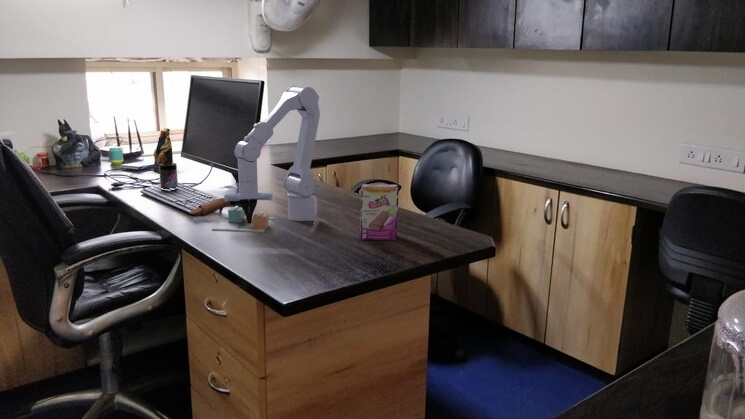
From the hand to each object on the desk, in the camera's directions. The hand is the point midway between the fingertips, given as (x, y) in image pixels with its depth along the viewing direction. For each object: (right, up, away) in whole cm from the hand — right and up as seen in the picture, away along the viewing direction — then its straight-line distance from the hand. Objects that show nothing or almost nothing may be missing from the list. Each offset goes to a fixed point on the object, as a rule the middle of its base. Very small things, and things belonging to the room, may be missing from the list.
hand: (249, 223), depth 192 cm
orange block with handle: (+4, -1, 0) cm, 4 cm away
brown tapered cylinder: (-19, +3, +22) cm, 29 cm away
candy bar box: (+40, -5, -5) cm, 41 cm away
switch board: (-2, -2, +3) cm, 4 cm away
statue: (-57, +21, +91) cm, 110 cm away
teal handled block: (-6, +1, +7) cm, 9 cm away
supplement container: (-43, +12, +56) cm, 72 cm away
